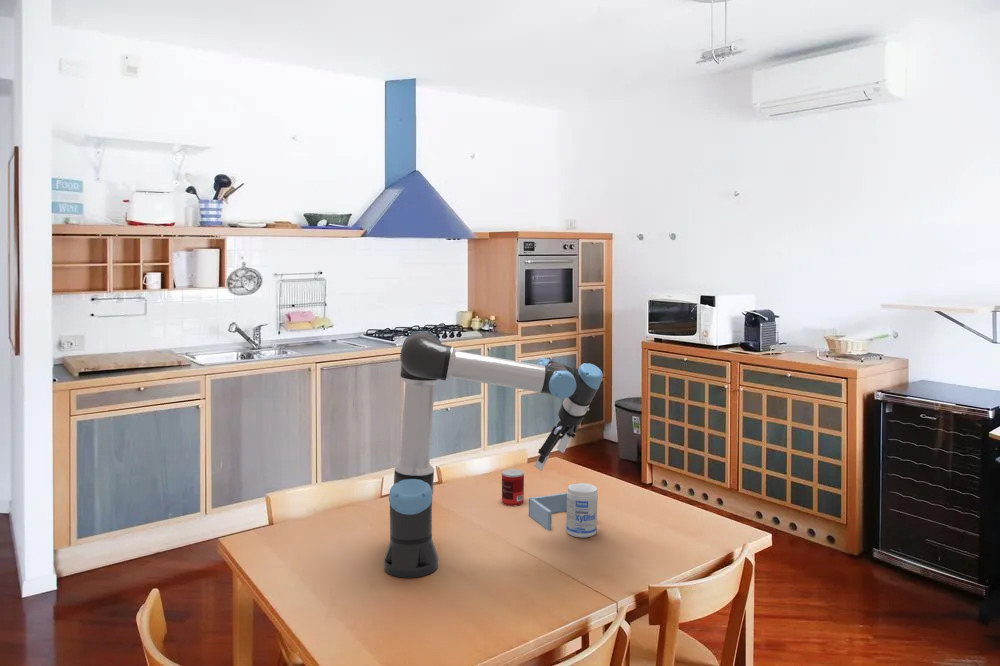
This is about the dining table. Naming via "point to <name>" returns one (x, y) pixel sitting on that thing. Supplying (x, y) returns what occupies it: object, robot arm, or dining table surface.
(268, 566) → the dining table surface
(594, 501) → the supplement tub
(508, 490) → the canned food
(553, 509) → the bay
